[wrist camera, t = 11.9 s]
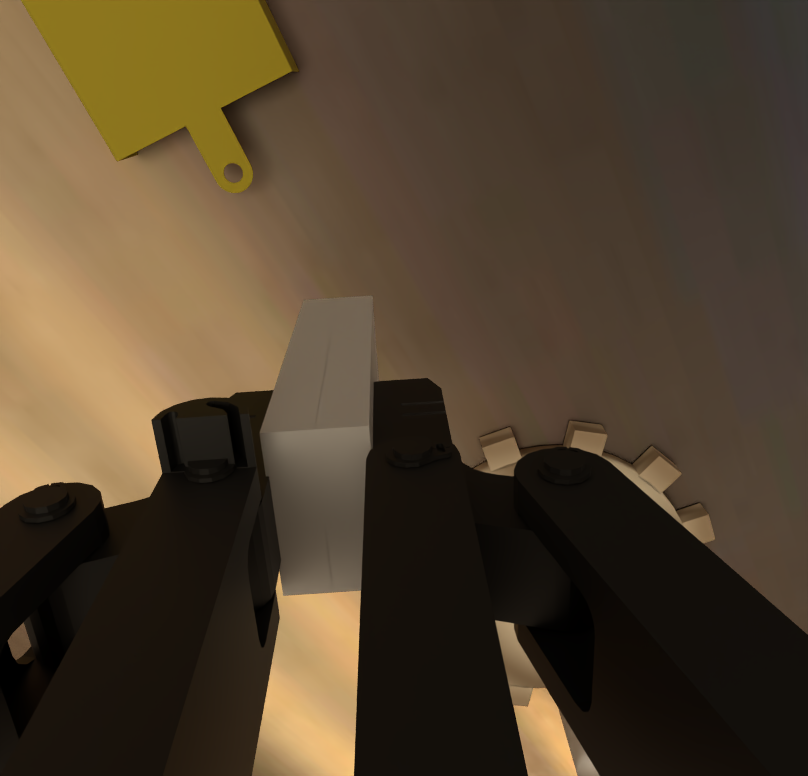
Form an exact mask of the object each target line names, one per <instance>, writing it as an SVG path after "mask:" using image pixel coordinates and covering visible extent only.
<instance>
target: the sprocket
mask: <svg viewBox="0 0 808 776" xmlns="http://www.w3.org/2000/svg"><path fill="white" fill-rule="evenodd" d="M607 435H608V434H607V433H606V431H605V430H604V428H603V427H602V425H600V424H592V423H585V422H577V421H569V425H568V428H567V432H566V436H565V439H564V443H563V445H549V446H537V447H531V448H525V449H520V450H519V449H518V446H517V443H516V441H515V438H514V435H513V433H512V430H511V427H508V428H505V429H503V430H500V431H497V432H494V433H491V434H488V435H486V436H483V437H480V442H481V446H482V449H483V451H484V454H485V457H486V459H487V461H486V462H484V463H482V464H480V465H479V466H477V467H475V468H473V469H476V470H479V471H482V472H486V473H492V474H497V475H506V476H514V468H515V466H516V463H517V461H518V460H519V459H521V458H522V457H524V456H525V455H526V454H528V453H531V452H535V451H538V450H541V449H549V448H555V447H567V448H569V447H574V448H579V449H581V450H584V451H588V452H591V453H594V454H597V455H599V456H601V457H602V458H604V459H606V460H607V461H609V462H610V463H612V464H613V465H614V466H615V467H616V468H617V469H618V470H620V471H621V472H622V473H623V474H624V475H625V476H626V477H628V478H629V479H630V480H631V481H632V482H633V483H634V484H636V485H637V486H638V487H639V488H640V489H641V490H642V491H644V492H645V493H646V494H647V495H648V496H649V497H650V498H652V499H653V500H654V501H655V502H656V503H657V504H658V505H660V506H661V507H662V508H663V509H664V510H665V511H666V512H668V513H669V514H670V515H671V516H672V517H673V518H674V519H676V520H677V521H678V522H679V523H680V524H681V525H683V526H684V527H685V528H686V529H687V530H688V531H689V532H691V533H692V534H693V535H694V536H695V537H696V538H697V539H699V540H700V541H701V542H702V543H706V542H709V541H712V540H715V537H714V533H713V530H712V526H711V522H710V518H709V514H708V513H707V512H706V510H705V509H704V508H703V506H702V505H701V504H700V503H698V504H695V505H692V506H689V507H686V508H683V509H680V510H677V511H675V509H674V507H673V506H672V504H671V503H670V501H669V500H668V498H667V497H666V496H665V494H664V493H663V491H664V490H665V489H666V488H667V487H668V486H669V485H671V484H672V483H673V482H674V481H675V480H676V479H677V478H678V477H679V476H680V475H681V474H682V473H681V472H680V471H679V470H678V468H677V467H676V466H675V464H674V463H673V462H672V461H670V460H669V459H668V458H667V457H665V456H664V455H663V454H662V453H660V452H659V451H658V450H657V449H655V448H654V447H653V446H651V447H650V448H649V449H648V450H647V451H646V452H645V453H644V454H643V455H641V456H640V457H639V458H638V459H637V460H636V461H635V462H634V463H633V464H630V463H629V462H626V461H624V460H622V459H620V458H618V457H616V456H614V455H611V454H608V453H605V452H603V449H604V445H605V442H606V438H607ZM495 622H496V627H497V632H498V636H499V641H500V646H501V650H502V655H503V660H504V665H505V669H506V674H507V679H508V684H509V688H510V693H511V698H512V703H513V705H517V706H527V707H528V704H529V701H530V697H531V694H532V691H533V688H546V687H545V685H544V683H543V682H542V680H541V678H540V677H539V675H538V673H537V672H536V670H535V668H534V667H533V665H532V663H531V662H530V660H529V659H528V657H527V655H526V654H525V652H524V650H523V649H522V647H521V645H520V644H519V642H518V640H517V637H516V634H515V630H514V623H508V622H502V621H496V620H495ZM558 709H559V708H558ZM559 712H560V716H561V719H562V723H563V726H564V730H565V733H566V737H567V740H568V744H569V747H570V751H571V754H572V758H573V761H574V765H575V768H576V772H577V775H578V776H600V775H599V774H598V772H597V771H596V769H595V767H594V766H593V764H592V762H591V761H590V759H589V757H588V756H587V754H586V752H585V751H584V749H583V747H582V746H581V744H580V743H579V741H578V739H577V738H576V736H575V734H574V733H573V731H572V729H571V728H570V726H569V724H568V723H567V721H566V719H565V718H564V716H563V715H562V713H561V711H560V710H559Z"/></svg>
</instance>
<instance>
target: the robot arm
mask: <svg viewBox="0 0 808 776" xmlns="http://www.w3.org/2000/svg"><path fill="white" fill-rule="evenodd" d="M151 421H152V425H153V430H154V435H155V440H156V445H157V449H158V454H159V459H160V464H161V469H162V475H161V477H160V479H159V481H158V483H157V484H156V486H155V488H154V490H153V492H152V494H151V496H150V497H148V498H145V499H141V500H138V501H134V502H130V503H126V504H121V505H117V506H113V507H109V508H104V504H103V500H102V496H101V492H100V491H99V490H98V489H96V488H95V487H94V486H93V485H88V484H83V483H63V482H59V483H52V484H51V485H50V486H49V484H47V485H43V486H40V487H37V488H35V489H34V490H33V491H30V492H28V493H25V494H22V495H20V496H19V497H17V498H15V499H14V500H12V501H10V502H9V503H7V504H5V505H4V506H3V507H1V508H0V776H252V771H253V765H254V759H255V754H256V748H257V742H258V737H259V731H260V726H261V720H262V714H263V709H264V703H265V697H266V692H267V686H268V681H269V675H270V669H271V664H272V658H273V652H274V647H275V641H276V635H277V630H278V624H279V619H280V617H279V609H278V602H277V595H276V584H277V579H278V574H279V569H280V576H281V583H282V590H283V596H286V595H301V594H316V593H331V592H346V591H361V606H360V632H359V659H358V686H357V713H356V739H355V766H354V776H528V774H527V769H526V764H525V759H524V755H523V750H522V745H521V741H520V736H519V731H518V726H517V722H516V717H515V712H514V707H513V703H512V698H511V693H510V688H509V684H508V679H507V674H506V669H505V665H504V660H503V655H502V650H501V646H500V641H499V636H498V632H497V627H496V622H495V620H496V621H502V622H508V623H514V630H515V634H516V637H517V640H518V642H519V644H520V645H521V647H522V649H523V650H524V652H525V654H526V655H527V657H528V659H529V660H530V662H531V663H532V665H533V667H534V668H535V670H536V672H537V673H538V675H539V677H540V678H541V680H542V682H543V683H544V685H545V687H546V688H547V690H548V691H549V693H550V695H551V696H552V698H553V700H554V701H555V703H556V705H557V706H558V708H559V710H560V711H561V713H562V715H563V716H564V718H565V719H566V721H567V723H568V724H569V726H570V728H571V729H572V731H573V733H574V734H575V736H576V738H577V739H578V741H579V743H580V744H581V746H582V747H583V749H584V751H585V752H586V754H587V756H588V757H589V759H590V761H591V762H592V764H593V766H594V767H595V769H596V771H597V772H598V774H599V775H600V776H808V635H807V634H806V633H805V632H804V631H803V630H802V629H800V628H799V627H798V626H797V625H796V624H795V623H794V622H792V621H791V620H790V619H789V618H788V617H787V616H785V615H784V614H783V613H782V612H781V611H780V610H779V609H777V608H776V607H775V606H774V605H773V604H772V603H771V602H769V601H768V600H767V599H766V598H765V597H764V596H763V595H761V594H760V593H759V592H758V591H757V590H756V589H755V588H753V587H752V586H751V585H750V584H749V583H748V582H747V581H745V580H744V579H743V578H742V577H741V576H740V575H739V574H737V573H736V572H735V571H734V570H733V569H732V568H731V567H729V566H728V565H727V564H726V563H725V562H724V561H723V560H721V559H720V558H719V557H718V556H717V555H716V554H715V553H713V552H712V551H711V550H710V549H709V548H708V547H707V546H705V545H704V544H703V543H702V542H701V541H700V540H699V539H697V538H696V537H695V536H694V535H693V534H692V533H691V532H689V531H688V530H687V529H686V528H685V527H684V526H683V525H681V524H680V523H679V522H678V521H677V520H676V519H674V518H673V517H672V516H671V515H670V514H669V513H668V512H666V511H665V510H664V509H663V508H662V507H661V506H660V505H658V504H657V503H656V502H655V501H654V500H653V499H652V498H650V497H649V496H648V495H647V494H646V493H645V492H644V491H642V490H641V489H640V488H639V487H638V486H637V485H636V484H634V483H633V482H632V481H631V480H630V479H629V478H628V477H626V476H625V475H624V474H623V473H622V472H621V471H620V470H618V469H617V468H616V467H615V466H614V465H613V464H612V463H610V462H609V461H607V460H606V459H604V458H602V457H601V456H599V455H597V454H594V453H591V452H588V451H584V450H581V449H579V448H574V447H569V448H567V447H555V448H549V449H541V450H538V451H535V452H531V453H528V454H526V455H525V456H524V457H522V458H521V459H519V460H518V461H517V463H516V466H515V468H514V476H506V475H497V474H492V473H486V472H482V471H479V470H476V469H473V468H471V467H469V466H467V465H465V464H463V463H462V461H461V456H460V453H459V451H458V449H457V448H456V446H455V445H454V444H452V440H451V435H450V430H449V425H448V420H447V415H446V410H445V405H444V400H443V395H442V390H441V388H440V387H439V386H437V385H436V384H435V383H433V382H432V381H431V380H429V379H428V378H422V379H407V380H391V381H379V375H378V362H377V349H376V336H375V323H374V310H373V297H372V296H358V297H342V298H327V299H311V300H304V301H303V304H302V307H301V310H300V313H299V316H298V319H297V322H296V325H295V328H294V331H293V334H292V337H291V340H290V343H289V346H288V349H287V352H286V355H285V358H284V361H283V364H282V367H281V370H280V373H279V376H278V379H277V382H276V385H275V388H274V390H270V391H255V392H240V393H235V394H234V395H232V396H231V397H230V398H204V399H196V400H190V401H187V402H184V403H180V404H177V405H174V406H172V407H170V408H168V409H165V410H163V411H161V412H160V413H159V414H158V415H156V416H155V417H154V418H153V419H152V420H151ZM23 622H24V624H25V627H26V631H27V634H28V637H29V640H30V643H31V647H30V648H29V650H28V651H27V652H26V653H25V654H24V655H23V656H22V657H20V658H19V659H18V660H15V659H14V658H13V656H12V653H11V650H10V647H9V644H8V639H9V638H10V636H11V635H12V633H13V632H14V631H15V630H16V629H17V628H18V627H19V626H20V625H21V624H22V623H23Z"/></svg>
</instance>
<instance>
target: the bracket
mask: <svg viewBox="0 0 808 776" xmlns="http://www.w3.org/2000/svg"><path fill="white" fill-rule="evenodd" d="M21 1H22V3H23V5H24V6H25V8H26V10H27V11H28V13H29V15H30V16H31V18H32V20H33V21H34V23H35V25H36V26H37V28H38V30H39V31H40V33H41V35H42V36H43V38H44V40H45V41H46V43H47V45H48V46H49V48H50V50H51V52H52V53H53V55H54V57H55V58H56V60H57V62H58V63H59V65H60V67H61V68H62V70H63V72H64V73H65V75H66V77H67V78H68V80H69V82H70V83H71V85H72V87H73V88H74V90H75V92H76V93H77V95H78V97H79V98H80V100H81V102H82V104H83V105H84V107H85V109H86V110H87V112H88V114H89V115H90V117H91V119H92V120H93V122H94V124H95V125H96V127H97V129H98V130H99V132H100V134H101V135H102V137H103V139H104V140H105V142H106V144H107V145H108V147H109V149H110V150H111V152H112V154H113V156H114V157H115V159H116V161H120V160H123V159H127V158H130V157H133V156H136V155H138V154H137V151H139V150H140V149H142V148H144V147H146V146H148V145H150V144H152V143H154V142H156V141H158V140H160V139H162V138H164V137H166V136H168V135H169V134H171V133H173V132H175V131H177V130H179V129H181V128H183V127H185V126H186V127H187V129H188V131H189V133H190V135H191V136H192V138H193V140H194V142H195V144H196V145H197V147H198V149H199V151H200V153H201V155H202V156H203V158H204V160H205V162H206V164H207V165H208V167H209V169H210V171H211V173H212V175H213V176H214V178H215V180H216V182H217V183H218V185H219V186H220V187H221V188H222V189H224V190H225V191H228V192H231V193H239V192H242V191H244V190H245V189H247V188H248V187H249V185H250V184H251V182H252V179H253V170H252V167H251V164H250V162H249V161H248V159H247V157H246V155H245V153H244V151H243V149H242V147H241V145H240V144H239V142H238V140H237V138H236V136H235V134H234V132H233V130H232V128H231V126H230V125H229V123H228V121H227V119H226V117H225V115H224V113H223V111H222V109H221V108H222V107H224V106H226V105H227V104H229V103H231V102H233V101H235V100H237V99H239V98H241V97H243V96H245V95H247V94H249V93H251V92H253V91H255V90H256V89H258V88H260V87H262V86H264V85H266V84H268V83H270V82H272V81H274V80H276V79H278V78H280V77H282V76H284V75H286V74H287V73H289V72H291V71H294V72H299V70H298V68H297V65H296V63H295V61H294V59H293V57H292V55H291V53H290V51H289V49H288V47H287V45H286V43H285V40H284V38H283V36H282V34H281V32H280V30H279V28H278V26H277V24H276V22H275V20H274V17H273V15H272V13H271V11H270V9H269V7H268V5H267V3H266V1H265V0H21ZM230 163H235V164H238V165H239V166H240V167H241V168H242V171H243V177H242V179H241V180H240V181H239V182H237V183H232V182H229V181H228V180H227V179H226V178H225V176H224V168H225V166H226V165H228V164H230Z"/></svg>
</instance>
